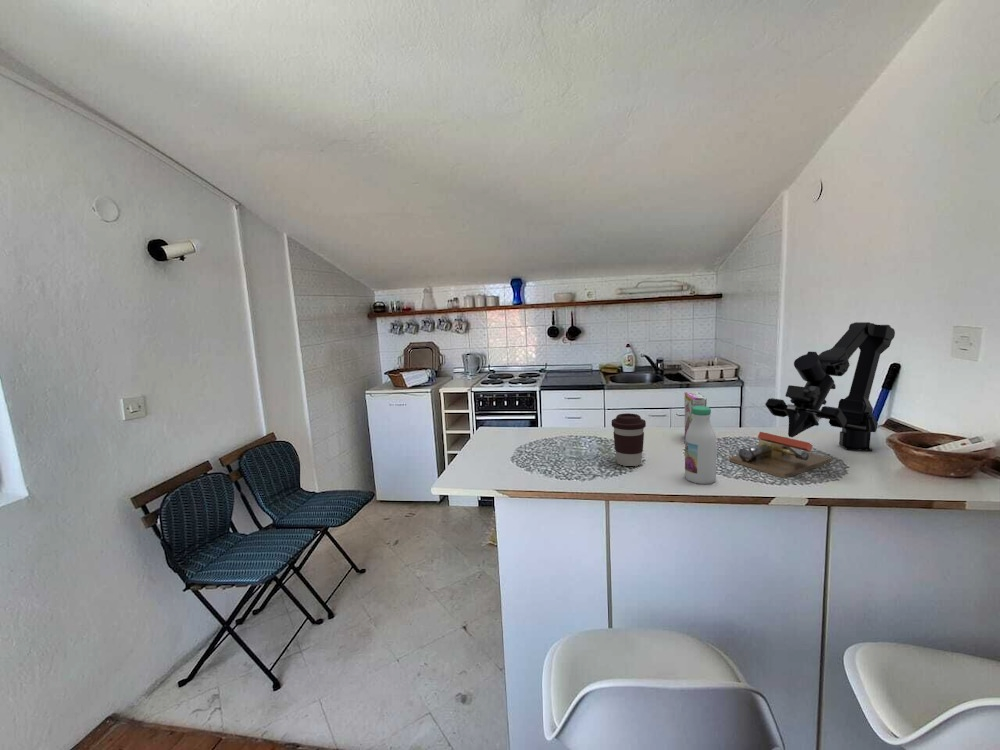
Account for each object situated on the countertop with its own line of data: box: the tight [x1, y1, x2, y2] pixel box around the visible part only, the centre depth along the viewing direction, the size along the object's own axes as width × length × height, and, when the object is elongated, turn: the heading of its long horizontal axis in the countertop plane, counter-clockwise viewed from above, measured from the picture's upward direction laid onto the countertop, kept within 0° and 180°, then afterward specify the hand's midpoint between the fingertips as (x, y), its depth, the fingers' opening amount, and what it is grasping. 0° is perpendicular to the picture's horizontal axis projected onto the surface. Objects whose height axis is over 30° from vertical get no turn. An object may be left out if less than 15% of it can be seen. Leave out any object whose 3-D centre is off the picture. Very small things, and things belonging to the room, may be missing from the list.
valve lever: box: [757, 431, 813, 460], centre depth 118 cm, size 2×13×13 cm
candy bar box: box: [684, 391, 707, 438], centre depth 147 cm, size 11×5×16 cm, turn 168°
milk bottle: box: [684, 406, 718, 485], centre depth 114 cm, size 8×8×20 cm
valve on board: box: [728, 436, 832, 479], centre depth 124 cm, size 22×16×5 cm
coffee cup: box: [611, 412, 647, 467], centre depth 129 cm, size 10×10×15 cm
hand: (790, 436), depth 117 cm, fingers closed
